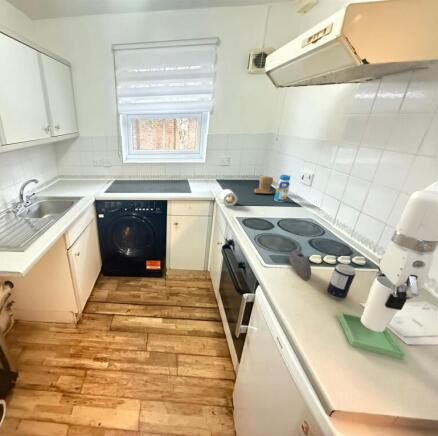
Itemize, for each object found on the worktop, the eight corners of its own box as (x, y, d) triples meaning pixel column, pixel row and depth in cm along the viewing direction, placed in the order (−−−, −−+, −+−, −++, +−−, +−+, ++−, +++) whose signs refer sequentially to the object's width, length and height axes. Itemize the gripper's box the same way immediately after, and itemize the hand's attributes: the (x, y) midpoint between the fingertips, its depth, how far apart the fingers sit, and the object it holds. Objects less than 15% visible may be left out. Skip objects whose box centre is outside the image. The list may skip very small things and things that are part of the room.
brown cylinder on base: (269, 191, 211) (272, 174, 205) (273, 195, 200) (277, 177, 194) (251, 190, 213) (254, 174, 207) (254, 194, 202) (257, 177, 196)
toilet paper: (219, 201, 185) (220, 189, 181) (232, 201, 185) (234, 189, 181) (222, 205, 176) (224, 193, 172) (236, 206, 176) (238, 193, 172)
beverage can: (348, 301, 83) (359, 273, 79) (329, 298, 85) (339, 270, 81) (342, 291, 88) (352, 264, 84) (324, 288, 90) (333, 261, 86)
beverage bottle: (276, 198, 192) (281, 173, 185) (287, 200, 187) (293, 175, 179) (272, 200, 187) (277, 175, 179) (283, 203, 181) (289, 177, 174)
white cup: (393, 338, 65) (417, 294, 59) (363, 331, 67) (383, 288, 61) (379, 319, 71) (400, 278, 65) (352, 314, 73) (370, 273, 67)
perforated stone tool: (313, 284, 92) (318, 269, 90) (298, 282, 93) (303, 267, 91) (299, 263, 106) (303, 249, 103) (286, 261, 107) (289, 248, 104)
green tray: (381, 326, 74) (383, 322, 73) (402, 359, 63) (405, 354, 63) (337, 316, 77) (339, 311, 77) (351, 346, 67) (353, 341, 67)
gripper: (462, 262, 49) (423, 326, 56) (412, 229, 64) (386, 283, 71) (414, 255, 52) (383, 317, 59) (377, 225, 67) (356, 277, 74)
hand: (385, 298), depth 65 cm, fingers closed on white cup, 6 cm apart
